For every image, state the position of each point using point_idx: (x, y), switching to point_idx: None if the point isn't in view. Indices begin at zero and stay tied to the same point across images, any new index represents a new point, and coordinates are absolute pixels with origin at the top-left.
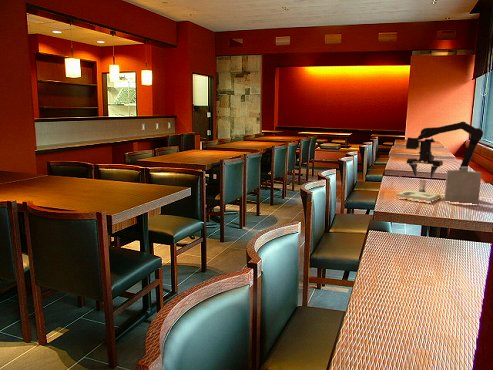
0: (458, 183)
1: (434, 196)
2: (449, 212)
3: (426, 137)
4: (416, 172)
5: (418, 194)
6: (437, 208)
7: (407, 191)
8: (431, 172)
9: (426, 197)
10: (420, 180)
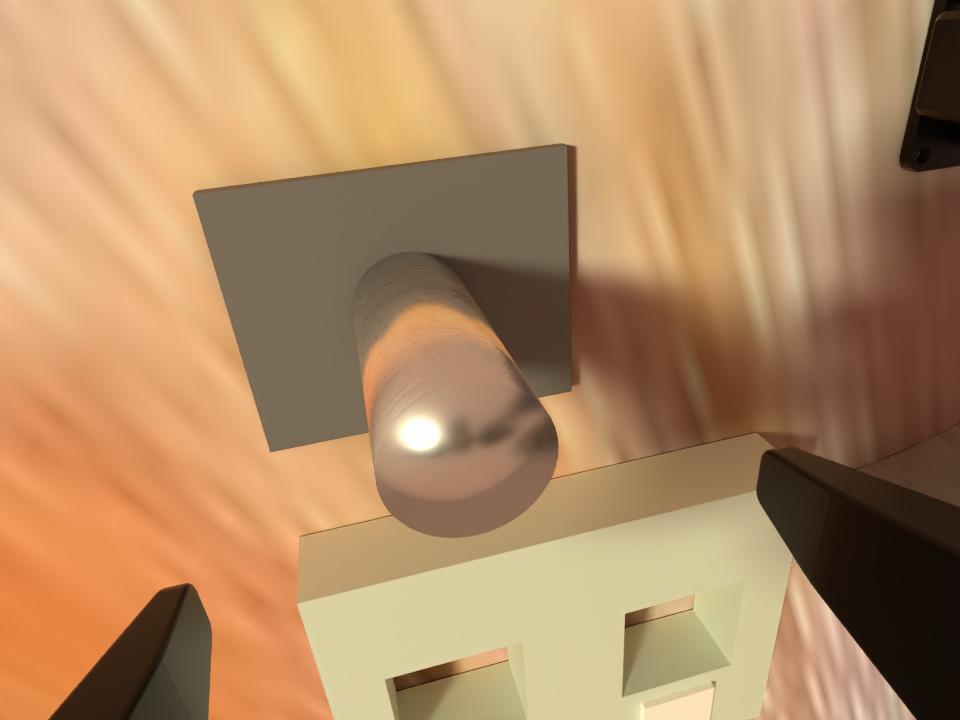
0: None
1: (776, 616)
2: (903, 716)
3: None
4: (145, 709)
5: (588, 684)
6: (814, 706)
7: (369, 673)
8: (937, 712)
9: (719, 714)
10: (434, 531)
